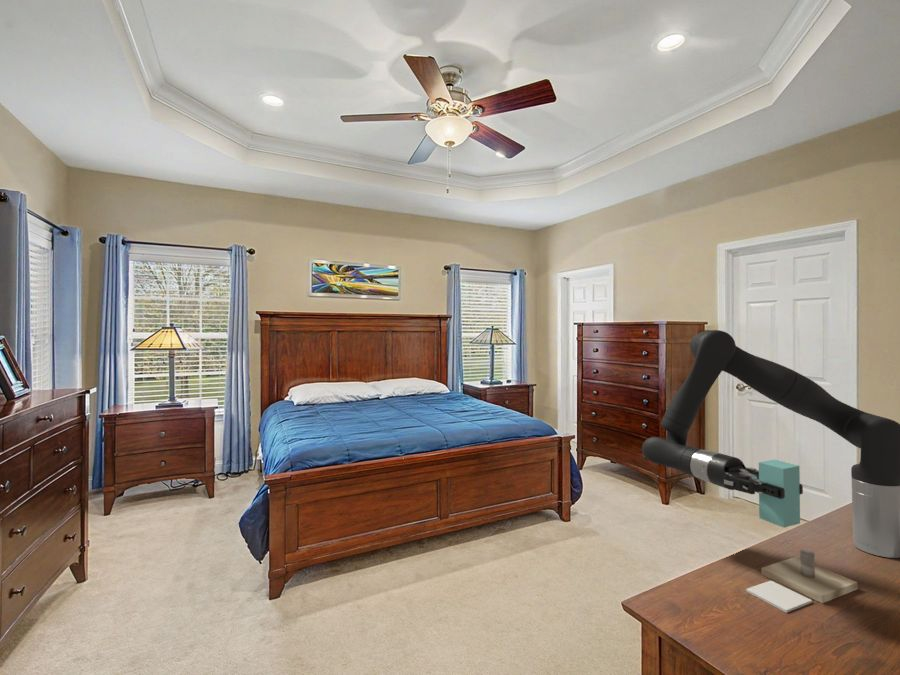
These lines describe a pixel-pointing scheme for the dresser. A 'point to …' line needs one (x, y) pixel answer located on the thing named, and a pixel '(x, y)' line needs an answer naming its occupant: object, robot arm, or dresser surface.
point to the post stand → (809, 578)
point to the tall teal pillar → (789, 506)
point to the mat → (779, 596)
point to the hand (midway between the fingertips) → (792, 491)
